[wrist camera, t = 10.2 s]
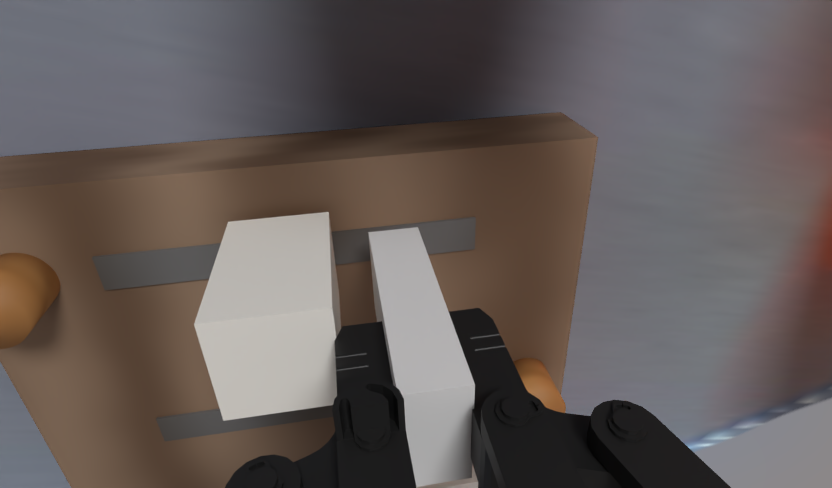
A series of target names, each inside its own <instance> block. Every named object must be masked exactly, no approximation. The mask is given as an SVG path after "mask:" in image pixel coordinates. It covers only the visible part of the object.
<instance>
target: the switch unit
mask: <svg viewBox="0 0 832 488" xmlns="http://www.w3.org/2000/svg"><path fill="white" fill-rule="evenodd" d="M597 141H598V137H597V136H595V135H594V134H592V133H591V132H589V131H588V130H586V129H585V128H583V127H582V126H580V125H579V124H578V123H576V122H575V121H573V120H572V119H570V118H569V117H567V116H566V115H564V114H563V113H561V112H558V113H545V114H533V115H520V116H508V117H495V118H483V119H470V120H458V121H445V122H432V123H420V124H407V125H395V126H382V127H370V128H357V129H345V130H332V131H319V132H307V133H294V134H282V135H269V136H257V137H244V138H232V139H219V140H206V141H194V142H181V143H169V144H156V145H144V146H131V147H119V148H106V149H93V150H81V151H68V152H56V153H43V154H31V155H18V156H5V157H0V362H1V363H2V365H3V367H4V369H5V371H6V372H7V374H8V376H9V378H10V379H11V381H12V383H13V385H14V387H15V388H16V390H17V392H18V394H19V395H20V397H21V399H22V401H23V402H24V404H25V406H26V408H27V410H28V411H29V413H30V415H31V417H32V418H33V420H34V422H35V424H36V426H37V427H38V429H39V431H40V433H41V434H42V436H43V438H44V440H45V442H46V443H47V445H48V447H49V449H50V450H51V452H52V454H53V456H54V457H55V459H56V461H57V463H58V465H59V466H60V468H61V470H62V472H63V473H64V475H65V477H66V479H67V481H68V482H69V484H70V486H71V488H225V486H226V484H227V483H228V481H229V480H230V478H231V477H232V475H233V474H234V472H235V471H236V470H238V469H239V468H240V467H241V466H242V465H244V464H245V463H246V462H248V461H250V460H253V459H255V458H257V457H260V456H265V455H274V454H275V455H279V456H284V457H287V458H289V459H290V460H291V461H292V462H295V461H297V460H299V459H302V458H304V457H306V456H308V455H310V454H312V453H314V452H316V451H317V450H319V449H320V448H322V447H323V446H324V445H325V444H326V443H327V442H328V441H329V440H330V439H331V437H332V436H333V435H334V432H335V426H334V419H333V413H332V408H333V405H330V406H323V407H316V408H309V409H302V410H295V411H288V412H281V413H274V414H267V415H261V416H254V417H247V418H240V419H233V420H226V421H223V418H222V414H221V411H220V408H219V405H218V401H217V398H216V395H215V392H214V388H213V385H212V382H211V379H210V375H209V372H208V369H207V366H206V362H205V359H204V356H203V352H202V349H201V346H200V343H199V339H198V336H197V333H196V330H195V326H194V323H195V320H196V317H197V314H198V311H199V308H200V305H201V302H202V299H203V296H204V293H205V290H206V287H207V284H208V281H209V278H210V275H211V272H212V269H213V266H214V263H215V260H216V257H217V254H218V251H219V248H220V245H221V242H222V239H223V236H224V233H225V230H226V227H227V224H228V222H231V221H241V220H251V219H262V218H272V217H282V216H292V215H302V214H312V213H322V212H329V218H330V226H331V234H332V242H333V249H334V257H335V265H336V273H337V281H338V288H339V301H340V318H341V328H342V326H349V325H357V324H364V323H372V322H377V318H376V312H375V304H374V292H373V281H372V269H371V258H370V246H369V234H368V232H376V231H385V230H395V229H404V228H414V227H418V229H419V232H420V234H421V237H422V240H423V243H424V245H425V248H426V251H427V254H428V256H429V259H430V262H431V265H432V267H433V270H434V273H435V276H436V278H437V281H438V284H439V287H440V290H441V292H442V295H443V298H444V301H445V303H446V306H447V309H448V312H449V311H457V310H465V309H473V308H480V309H481V310H483V311H484V312H485V313H486V314H487V315H489V316H490V317H491V318H492V319H493V320H494V323H495V325H496V327H497V329H498V331H499V334H500V336H501V337H502V339H503V341H504V344H505V347H506V348H507V350H508V352H509V354H510V356H511V358H512V360H513V362H514V365H515V367H516V369H517V371H518V373H519V375H520V377H521V379H522V381H523V384H524V386H525V388H526V390H527V391H528V392H529V393H530V394H532V395H534V396H535V397H537V398H538V399H540V401H541V402H542V403H543V404H544V406H545V407H546V408H549V409H551V410H554V411H557V412H562V413H565V410H566V406H565V403H564V401H563V399H562V397H561V389H562V383H563V376H564V369H565V362H566V355H567V348H568V341H569V334H570V327H571V321H572V314H573V307H574V300H575V293H576V286H577V279H578V272H579V265H580V259H581V252H582V245H583V238H584V231H585V224H586V217H587V210H588V203H589V197H590V190H591V183H592V176H593V169H594V162H595V155H596V148H597Z"/></svg>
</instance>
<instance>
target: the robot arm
mask: <svg viewBox="0 0 832 488" xmlns="http://www.w3.org/2000/svg"><path fill="white" fill-rule="evenodd" d="M368 234H369V246H370V258H371V269H372V281H373V292H374V304H375V312H376V318H377V322H372V323H364V324H357V325H349V326H342V328H341V330H340V332H339V334H338V335H337V337H336V339H335V358H336V359H335V360H336V383H337V397H336V398H335V399H334V404H333V408H332V413H333V419H334V426H335V432H334V435H333V436H332V437H331V439H330V440H329V441H328V442H327V443H326V444H325V445H324V446H323V447H322V448H320V449H319V450H317V451H316V452H314V453H312V454H310V455H308V456H306V457H304V458H302V459H299V460H297V461H295V462H292V461H291V460H290V459H289V458H287V457H284V456H279V455H275V454H274V455H265V456H260V457H257V458H255V459H253V460H250V461H248V462H246V463H245V464H244V465H242V466H241V467H240V468H239V469H238V470H236V471H235V472H234V474H233V475H232V477H231V478H230V480H229V481H228V483H227V484H226V486H225V488H416V487H419V486H425V485H431V484H437V483H443V482H449V481H455V480H461V479H467V478H472V464H473V467H474V470H475V474H476V477H477V480H478V488H731V487H730V486H729V485H727V484H726V483H725V482H724V481H723V480H722V479H721V478H720V477H719V476H718V475H717V474H716V473H715V472H714V471H713V470H712V469H711V468H709V467H708V466H707V465H706V464H705V463H704V462H703V461H702V460H701V459H700V458H699V457H698V456H697V455H696V454H695V453H693V452H692V451H691V450H690V449H689V448H688V447H687V446H686V445H685V444H684V443H683V442H682V441H681V440H680V439H679V438H677V437H676V436H675V435H674V434H673V433H672V432H671V431H670V430H669V429H668V428H667V427H666V426H665V425H664V424H662V423H661V422H660V421H659V420H658V419H657V418H656V417H655V416H654V415H653V414H651V413H650V412H649V411H647V410H646V409H644V408H643V407H641V406H639V405H636V404H633V403H631V402H628V401H620V400H612V401H607V402H603V403H601V404H600V405H598V406H597V407H595V408H594V410H593V412H592V414H591V416H584V415H575V414H567V413H562V412H557V411H554V410H551V409H549V408H546V407H545V406H544V404H543V403H542V402H541V401H540V399H538V398H537V397H535V396H534V395H532V394H530V393H529V392H528V391H527V390H526V388H525V386H524V384H523V381H522V379H521V377H520V375H519V373H518V371H517V369H516V367H515V365H514V362H513V360H512V358H511V356H510V354H509V352H508V350H507V348H506V347H505V344H504V341H503V339H502V337H501V336H500V334H499V331H498V329H497V327H496V325H495V323H494V320H493V319H492V318H491V317H490V316H489V315H487V314H486V313H485V312H484V311H483V310H481V309H480V308H473V309H465V310H457V311H449V312H448V309H447V306H446V303H445V301H444V298H443V295H442V292H441V290H440V287H439V284H438V281H437V278H436V276H435V273H434V270H433V267H432V265H431V262H430V259H429V256H428V254H427V251H426V248H425V245H424V243H423V240H422V237H421V234H420V232H419V229H418V227H414V228H404V229H395V230H385V231H376V232H368Z"/></svg>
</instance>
